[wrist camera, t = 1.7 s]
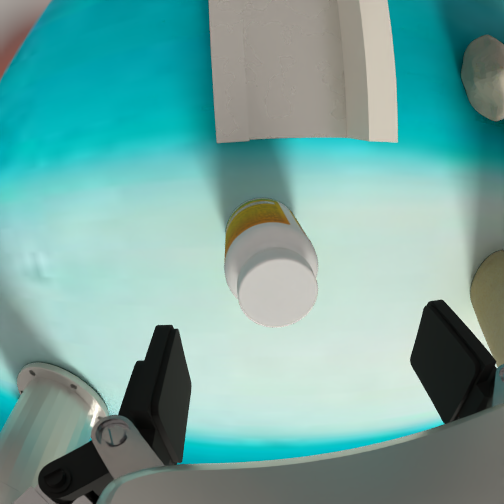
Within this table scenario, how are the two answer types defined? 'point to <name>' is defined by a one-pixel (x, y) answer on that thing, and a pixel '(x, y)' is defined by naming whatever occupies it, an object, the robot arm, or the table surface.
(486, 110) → the ceramic sculpture
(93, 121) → the table surface
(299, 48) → the track
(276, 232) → the supplement bottle
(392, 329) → the table surface
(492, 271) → the plant pot
